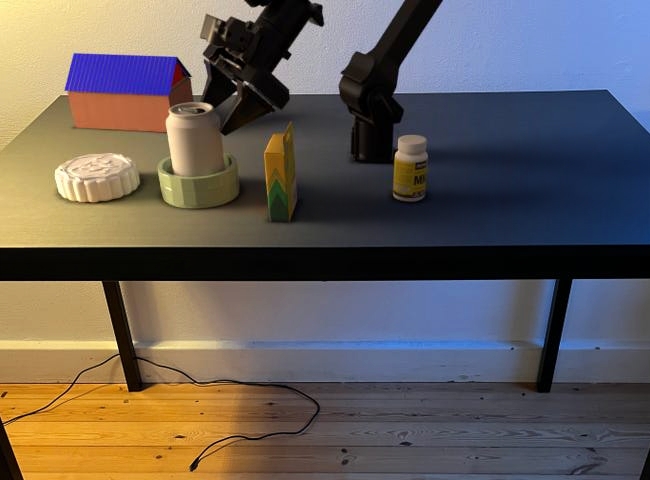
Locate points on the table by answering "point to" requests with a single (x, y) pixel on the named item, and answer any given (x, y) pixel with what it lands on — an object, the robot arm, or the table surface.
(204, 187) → the pot
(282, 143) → the crayon box
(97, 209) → the table surface
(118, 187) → the mooncake
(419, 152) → the supplement bottle
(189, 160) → the can
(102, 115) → the house
